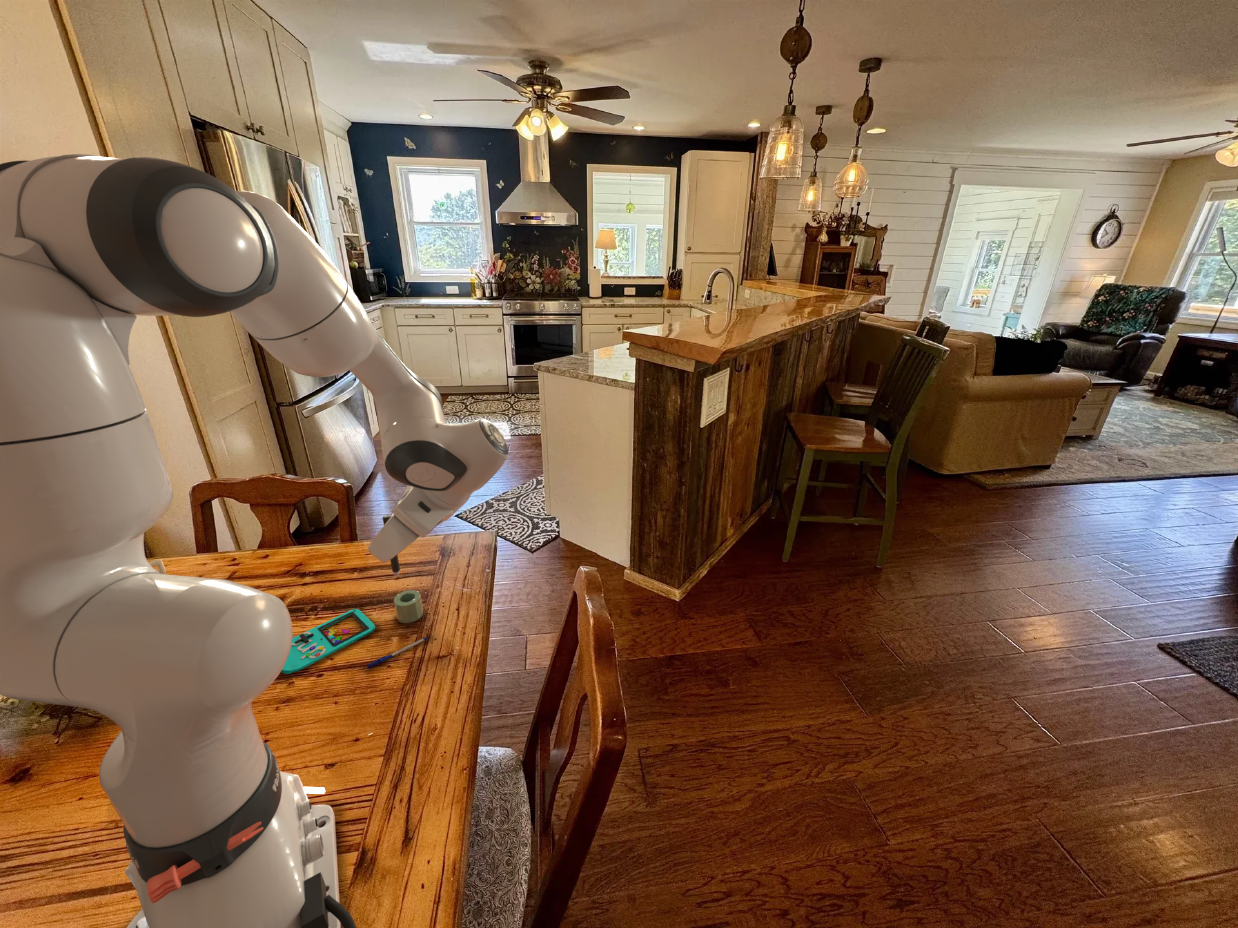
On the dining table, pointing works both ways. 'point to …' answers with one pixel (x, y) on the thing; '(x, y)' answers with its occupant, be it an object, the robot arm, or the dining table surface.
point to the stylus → (395, 560)
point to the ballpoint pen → (393, 654)
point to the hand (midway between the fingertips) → (387, 542)
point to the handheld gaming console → (323, 642)
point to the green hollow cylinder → (408, 606)
